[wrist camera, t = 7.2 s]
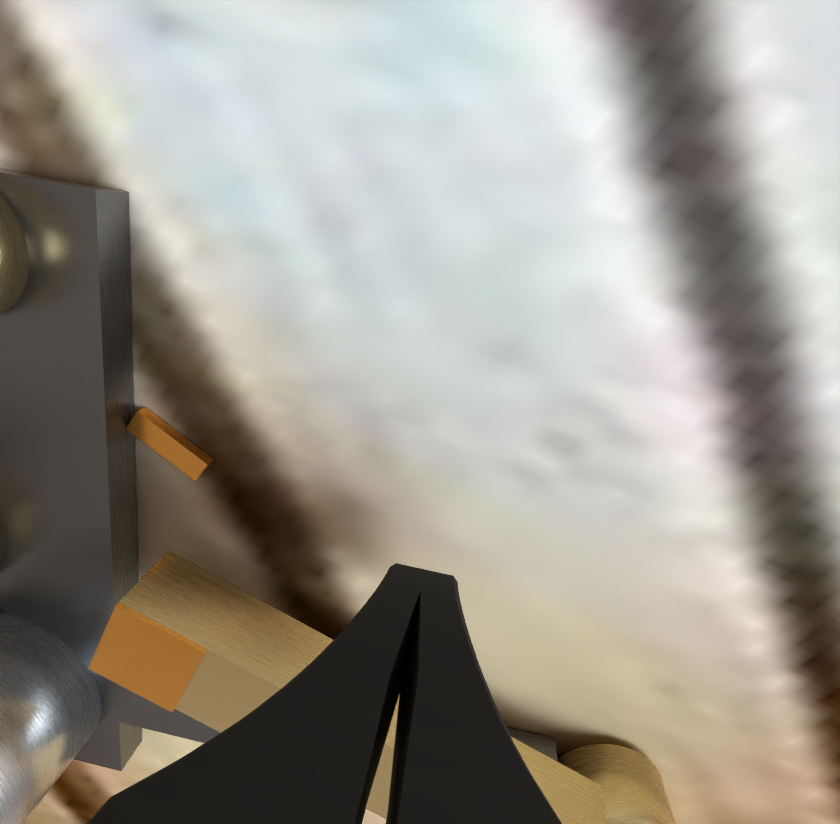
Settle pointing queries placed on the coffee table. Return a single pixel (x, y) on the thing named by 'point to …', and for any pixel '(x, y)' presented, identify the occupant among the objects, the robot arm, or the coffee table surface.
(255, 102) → the coffee table surface
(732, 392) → the coffee table surface
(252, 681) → the lever
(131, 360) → the levelling base
